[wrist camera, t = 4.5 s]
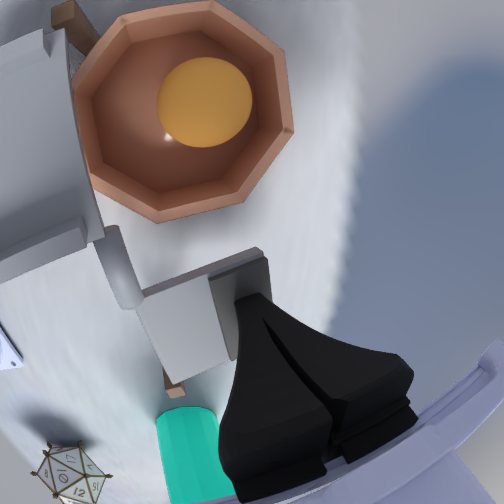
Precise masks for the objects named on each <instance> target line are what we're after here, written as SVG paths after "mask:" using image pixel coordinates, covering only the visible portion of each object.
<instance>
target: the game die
mask: <svg viewBox="0 0 504 504" xmlns="http://www.w3.org/2000/svg"><path fill="white" fill-rule="evenodd" d="M82 445H83V444H82V440H81V441H79V442H78V446H77V447H52V445H51V444H50V443H48V442H47V446H48V447H49V448H50V449H49V451H48V452H47V451H46V450H43V454H45V455H46V456H45V458H44V460H43V462H42V464H41V466H40V468H39V469H38V471H37V473H36V472H33V471H32V472H31V474H32V475H33V476H36V475H37V476H38V477H39V478H40V479H41V480H42V481H43V482H44V483H45V485H47V487H48V488H49V489H50V490H51V491H52V492H53V498H56V499H57V497H58V498H59V499H60V500H61V501H62V502H63V504H72V503H74V502H76V503H93V504H96V503H97V500H98V497H99V495H100V492H101V489H102V487H103V484H104V482H105V479H106V478H111V477H113V475H110V474H107V475H105V474H104V473H103V472H102V471H101V470H100V469H99V468H98V467H97V466H96V465H95V464H94V462H93V461H92V460H91V459H90V458H89V457H88V456H87V455H86V453H85V452H84V451H83V450H82V449H81V446H82Z"/></svg>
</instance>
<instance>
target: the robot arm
mask: <svg viewBox="0 0 504 504" xmlns="http://www.w3.org/2000/svg"><path fill="white" fill-rule="evenodd" d="M234 307H235V312H236V316H237V321H238V331H239V339H238V356H237V364H236V371H235V376H234V381H233V386H232V389H231V393H230V397H229V400H228V404H227V407H226V410H225V412H224V415H223V418H222V420H221V423H220V426H219V437H218V455H219V460H220V463H221V466H222V469H223V472H224V473H225V474H226V476H227V477H228V478H229V479H230V480H231V482H232V484H233V487H234V490H235V492H236V494H235V495H231V496H227V497H222V498H218V499H213V500H208V501H202V502H196V503H190V504H274V503H278V502H281V501H284V500H287V499H290V498H292V497H295V496H298V495H301V494H303V493H306V492H308V491H311V490H313V489H315V488H318V487H320V486H322V485H325V484H327V483H329V482H332V481H334V480H336V479H337V480H336V481H334V482H333V483H331V484H330V485H328V486H326V487H324V488H322V489H320V490H318V491H316V492H313V493H311V494H309V495H307V496H305V497H302V498H300V499H298V500H296V501H293V502H291V503H288V504H496V503H495V502H494V500H493V499H492V498H491V496H490V495H489V494H488V492H487V491H486V490H485V488H484V487H483V486H482V484H481V483H480V482H479V481H478V479H477V478H476V477H475V475H474V474H473V473H472V471H471V470H470V469H469V468H468V466H467V465H466V464H465V462H464V461H463V460H462V459H461V457H460V456H459V455H458V453H457V452H456V451H455V449H456V448H457V447H458V446H460V445H461V443H463V442H464V441H465V440H466V439H467V438H468V437H469V436H470V435H471V434H472V433H473V432H474V431H475V430H476V429H477V428H478V427H479V426H480V425H481V424H482V423H483V422H484V421H485V420H486V419H487V418H488V417H489V416H490V415H491V413H492V412H493V411H494V410H495V409H496V408H497V407H498V406H499V405H500V403H501V402H502V401H503V400H504V344H503V343H502V342H501V341H499V340H498V339H496V340H495V341H494V342H493V343H492V344H491V345H490V346H489V347H488V348H487V349H486V350H485V351H484V352H483V354H482V355H481V357H480V359H479V360H478V363H477V364H476V365H475V366H474V367H473V368H472V369H471V370H470V371H468V372H467V373H466V374H465V375H464V376H463V377H461V378H460V379H459V380H458V381H457V382H456V383H455V384H453V385H452V386H451V387H449V388H448V389H447V390H446V391H444V392H443V393H442V394H441V395H439V397H437V398H435V399H434V400H433V401H431V402H430V403H429V404H427V405H426V406H425V407H423V408H422V409H421V410H419V411H418V412H416V413H414V411H413V410H412V409H411V408H410V407H409V404H410V400H409V399H408V398H407V397H406V393H407V391H408V389H409V387H410V385H411V383H412V381H413V378H414V371H413V370H412V369H411V368H410V367H409V366H408V364H407V363H406V362H405V361H404V360H403V359H401V357H400V356H398V355H397V354H393V353H386V352H380V351H374V350H369V349H365V348H361V347H357V346H354V345H351V344H348V343H345V342H342V341H339V340H336V339H333V338H331V337H329V336H326V335H324V334H322V333H320V332H318V331H316V330H314V329H312V328H310V327H308V326H307V325H305V324H303V323H301V322H300V321H298V320H297V319H295V318H293V317H292V316H290V315H289V314H288V313H286V312H285V311H283V310H282V309H280V308H279V307H278V306H276V305H275V304H274V303H272V302H271V301H270V300H269V299H267V298H266V297H265V296H264V295H263V294H261V293H255V294H252V295H248V296H245V297H243V298H240V299H237V300H235V302H234ZM23 363H24V361H23V359H22V358H21V356H20V355H19V354H18V352H17V351H16V350H15V348H14V347H13V345H12V344H11V342H10V341H9V340H8V338H7V337H6V335H5V334H4V332H3V331H2V329H1V327H0V370H4V369H11V368H18V367H22V366H23ZM340 477H341V478H340ZM338 478H339V479H338ZM72 504H93V503H76V502H74V503H72Z"/></svg>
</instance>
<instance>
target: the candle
mask: <svg viewBox="0 0 504 504" xmlns="http://www.w3.org/2000/svg"><path fill="white" fill-rule="evenodd" d="M156 428H157V435H158V441H159V447H160V453H161V459H162V465H163V470H164V475H165V480H166V485H167V489H168V494H169V498H170V502H171V504H190V503H196V502H202V501H208V500H213V499H218V498H222V497H227V496H231V495H235V494H236V492H235V490H234V487H233V484H232V482H231V480H230V479H229V478H228V477H227V476H226V474H225V473H224V472H223V469H222V466H221V463H220V460H219V455H218V437H219V423H218V420H217V417H216V416H215V415H214V414H213V412H212V411H211V410H208V409H204V408H201V407H179V408H176V409H172V410H169V411H166V412H164V413H163V414H162V415H161V416H159V417H158V418H157V421H156Z"/></svg>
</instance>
